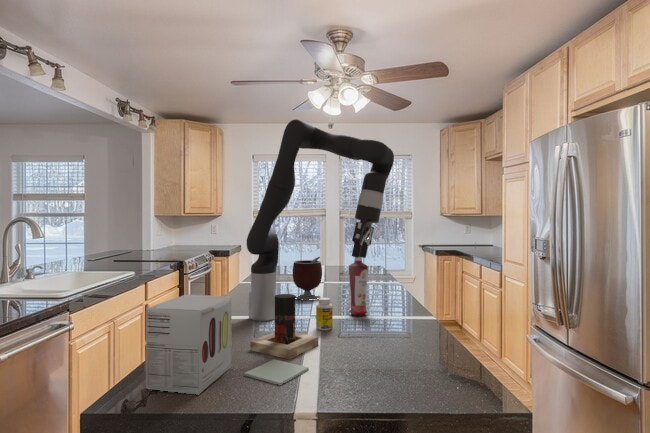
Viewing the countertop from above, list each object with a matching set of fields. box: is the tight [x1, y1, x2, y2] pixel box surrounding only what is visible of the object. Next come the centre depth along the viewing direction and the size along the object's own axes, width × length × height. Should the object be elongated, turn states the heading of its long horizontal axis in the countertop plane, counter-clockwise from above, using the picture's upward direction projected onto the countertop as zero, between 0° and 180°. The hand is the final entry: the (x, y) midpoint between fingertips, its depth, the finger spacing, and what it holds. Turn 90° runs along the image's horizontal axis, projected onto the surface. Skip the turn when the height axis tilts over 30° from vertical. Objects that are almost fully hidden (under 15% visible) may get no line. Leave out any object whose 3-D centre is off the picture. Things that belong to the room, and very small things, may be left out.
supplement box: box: [145, 294, 233, 396], centre depth 95 cm, size 17×13×18 cm
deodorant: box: [274, 293, 296, 345], centre depth 117 cm, size 6×6×15 cm
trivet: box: [243, 358, 309, 386], centre depth 98 cm, size 11×11×1 cm
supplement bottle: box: [315, 297, 334, 331], centre depth 137 cm, size 6×6×10 cm
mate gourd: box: [292, 256, 323, 300], centre depth 189 cm, size 16×14×20 cm
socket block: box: [249, 331, 319, 360], centre depth 117 cm, size 14×14×2 cm
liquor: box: [348, 245, 369, 318], centre depth 156 cm, size 7×7×28 cm
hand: (358, 257), depth 125 cm, fingers open, 8 cm apart
